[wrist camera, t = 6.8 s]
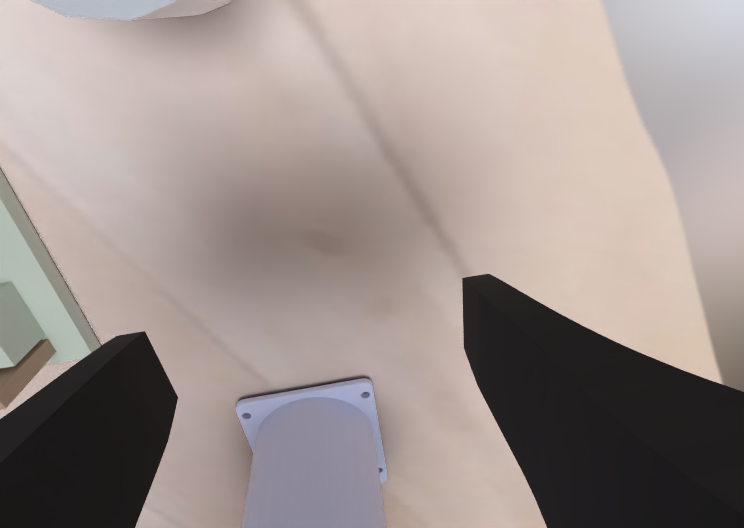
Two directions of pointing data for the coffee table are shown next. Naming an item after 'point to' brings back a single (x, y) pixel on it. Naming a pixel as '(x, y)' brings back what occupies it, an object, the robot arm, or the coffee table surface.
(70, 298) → the display cradle
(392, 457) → the coffee table surface
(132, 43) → the coffee table surface
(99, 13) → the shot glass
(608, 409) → the robot arm
